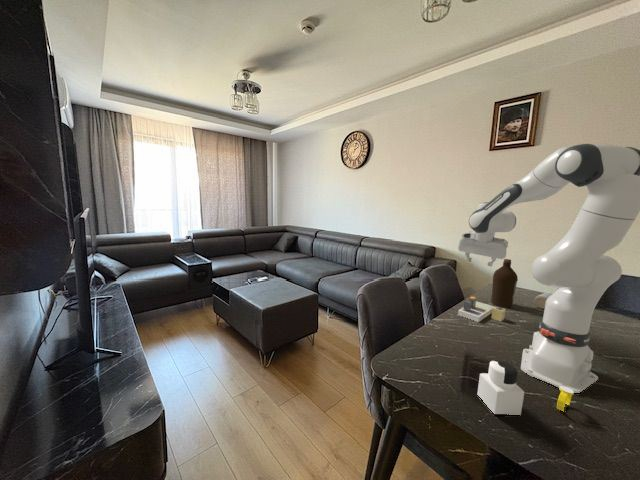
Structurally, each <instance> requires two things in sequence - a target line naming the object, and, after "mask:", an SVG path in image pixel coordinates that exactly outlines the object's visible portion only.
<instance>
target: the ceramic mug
mask: <svg viewBox="0 0 640 480" xmlns="http://www.w3.org/2000/svg"><path fill="white" fill-rule="evenodd" d="M552 294H553V293H551V292H543V293H541V294H538V295H536V297H534V300H533V303H534V305H535V306H536V307H537V308H538V309H541V310H544V309H545V303H546V300H547V298H548V297H549V296H551V295H552Z"/></svg>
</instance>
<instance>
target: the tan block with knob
mask: <svg viewBox="0 0 640 480" xmlns="http://www.w3.org/2000/svg"><path fill="white" fill-rule="evenodd" d="M505 316H506V309H505V308H504V307H500V306H494V308H493V309H492V313H491V316H490V317H491V319H492V320H495V321H497V322H502V321H504V320H505Z"/></svg>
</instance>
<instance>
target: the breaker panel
mask: <svg viewBox="0 0 640 480" xmlns="http://www.w3.org/2000/svg"><path fill="white" fill-rule="evenodd" d="M494 307H495V305H494V306H493V305H491V304H488V303H487V304H486V303H483V302H479V301H477V300H476V305H475V307H474V308H471V309H470V310H469V311H467V310H464V306H463V307H461V308H460V309H458V311H457V316H459V315H460V316H459V317H462V316H463V318H465V317H466V318H465V319H467V318H468V320H470V319H471V320H470V321H473V320H474V322H476V323H479V322H481V321H482V320H484V319H485V318H487V317H488V316H489V315H492V309H493V308H494Z"/></svg>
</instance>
